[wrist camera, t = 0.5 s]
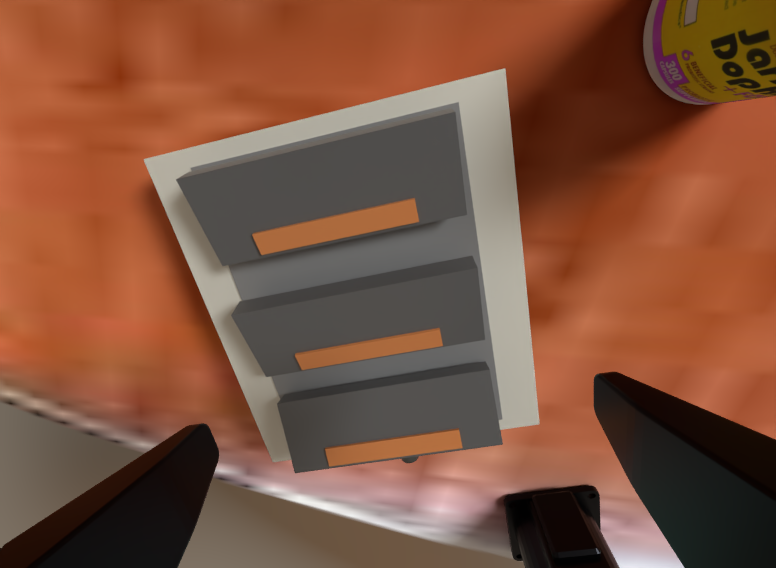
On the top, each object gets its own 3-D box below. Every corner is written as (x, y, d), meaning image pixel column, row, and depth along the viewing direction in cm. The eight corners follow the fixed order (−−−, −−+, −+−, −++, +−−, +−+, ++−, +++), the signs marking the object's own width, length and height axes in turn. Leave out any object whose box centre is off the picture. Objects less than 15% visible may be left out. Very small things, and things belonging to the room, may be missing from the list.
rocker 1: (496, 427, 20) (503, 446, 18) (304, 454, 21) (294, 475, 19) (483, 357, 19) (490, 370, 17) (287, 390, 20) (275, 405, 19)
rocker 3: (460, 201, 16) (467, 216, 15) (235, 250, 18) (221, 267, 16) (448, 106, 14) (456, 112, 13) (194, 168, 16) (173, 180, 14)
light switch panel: (526, 427, 24) (543, 465, 21) (300, 459, 26) (287, 498, 23) (488, 81, 17) (505, 67, 14) (181, 157, 19) (141, 159, 16)
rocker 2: (477, 318, 18) (485, 341, 17) (274, 354, 20) (265, 379, 18) (469, 250, 16) (478, 269, 15) (242, 295, 18) (229, 317, 16)
